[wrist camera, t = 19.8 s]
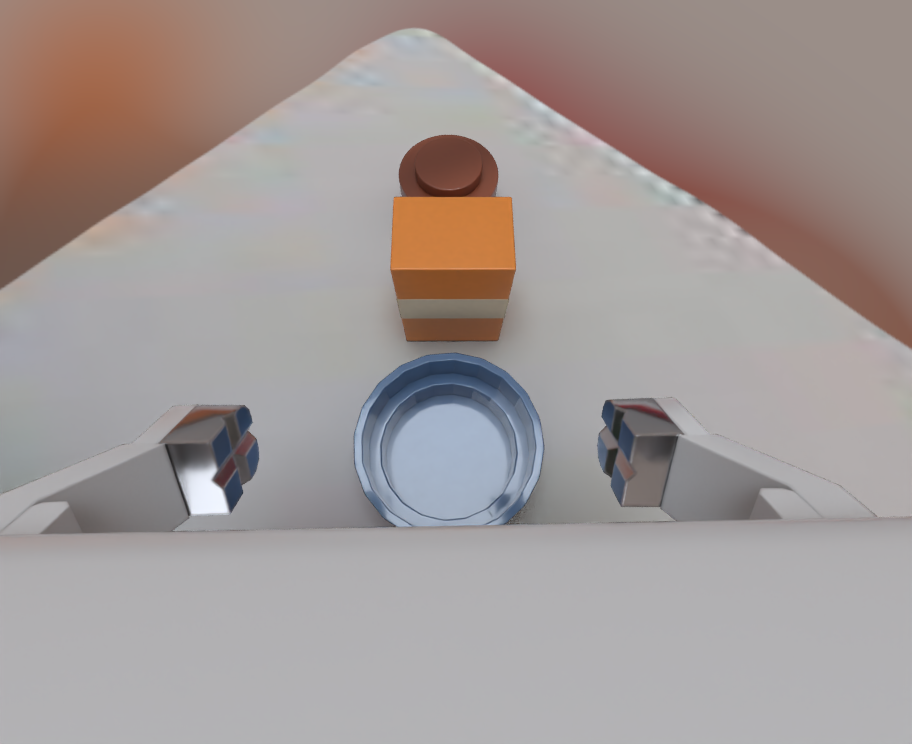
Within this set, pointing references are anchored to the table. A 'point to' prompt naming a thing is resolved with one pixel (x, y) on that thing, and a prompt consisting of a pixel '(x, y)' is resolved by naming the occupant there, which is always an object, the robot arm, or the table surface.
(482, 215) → the juice carton
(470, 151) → the wooden mushroom
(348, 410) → the table surface
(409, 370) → the blue bowl
